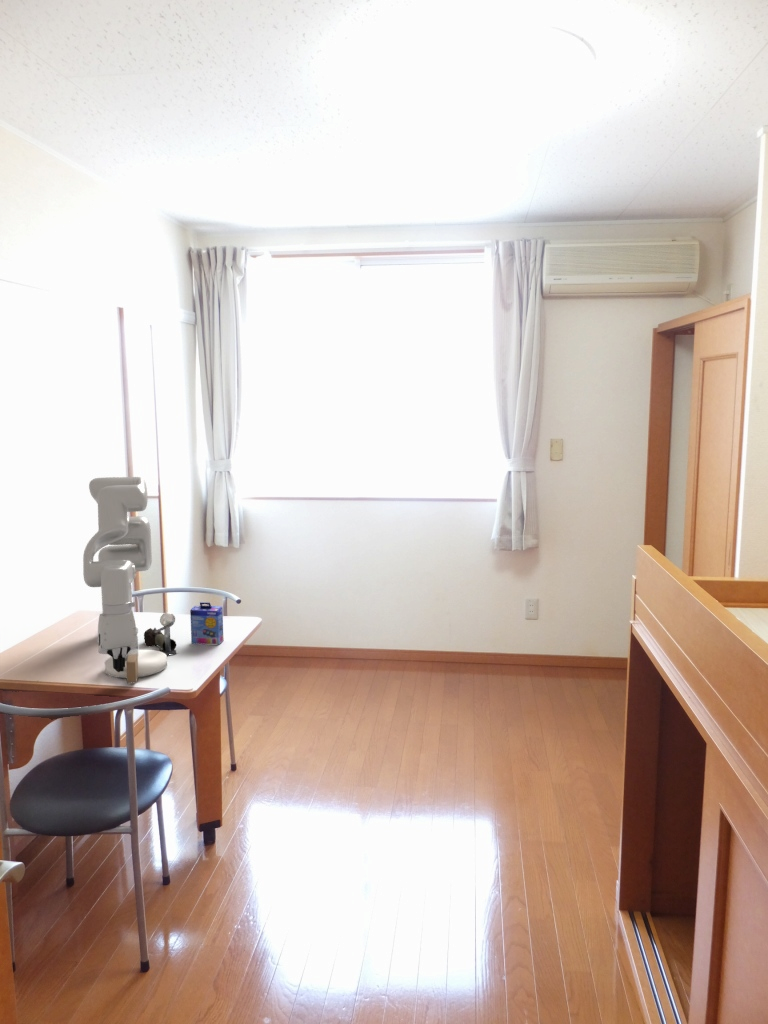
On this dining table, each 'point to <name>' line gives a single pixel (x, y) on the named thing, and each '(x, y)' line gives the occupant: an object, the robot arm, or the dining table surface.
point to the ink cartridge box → (206, 624)
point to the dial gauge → (167, 631)
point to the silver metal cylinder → (133, 651)
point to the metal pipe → (156, 639)
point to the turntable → (139, 665)
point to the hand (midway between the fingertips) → (119, 670)
